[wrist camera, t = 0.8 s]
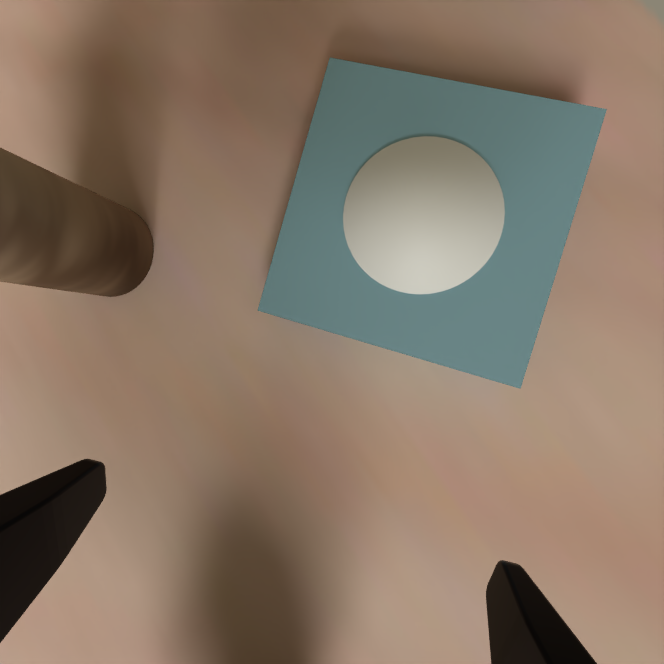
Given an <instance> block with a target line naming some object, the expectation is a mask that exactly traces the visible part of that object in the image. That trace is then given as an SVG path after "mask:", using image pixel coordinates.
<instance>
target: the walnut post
mask: <svg viewBox="0 0 664 664" xmlns="http://www.w3.org/2000/svg"><path fill="white" fill-rule="evenodd" d="M152 259H153V240H152V236H151V233H150V231H149V228H148V227H147V225H146V223H145V222H144V221H143V219H142V218H141V217H140V216H139V215H137V214H136V213H135V212H133V211H131V210H129V209H127V208H125V207H123V206H121V205H119V204H117V203H115V202H113V201H111V200H108V199H106V198H104V197H102V196H100V195H98V194H96V193H94V192H92V191H90V190H88V189H86V188H83V187H81V186H79V185H77V184H75V183H73V182H71V181H69V180H67V179H65V178H63V177H61V176H58V175H56V174H54V173H52V172H50V171H48V170H46V169H44V168H42V167H40V166H38V165H36V164H33V163H31V162H29V161H27V160H25V159H23V158H21V157H19V156H17V155H15V154H13V153H11V152H8V151H6V150H4V149H2V148H0V282H7V283H14V284H21V285H29V286H36V287H43V288H50V289H57V290H64V291H71V292H78V293H86V294H93V295H100V296H108V297H114V296H120V295H123V294H126V293H128V292H130V291H132V290H133V289H135V288H136V287H137V286H138V285H139V284H140V283H141V282H142V281H143V280H144V278H145V277H146V275H147V273H148V271H149V269H150V266H151V263H152Z"/></svg>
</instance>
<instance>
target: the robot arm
mask: <svg viewBox="0 0 664 664" xmlns="http://www.w3.org/2000/svg"><path fill="white" fill-rule="evenodd" d="M105 494H106V475H105V466H104V464H103V463H102V462H99V461H95V460H91V459H84V460H81V461H78V462H76V463H74V464H71V465H69V466H67V467H64V468H62V469H60V470H57V471H55V472H53V473H50V474H48V475H46V476H43V477H41V478H39V479H36V480H34V481H32V482H29V483H27V484H25V485H22V486H20V487H18V488H15V489H13V490H11V491H8V492H6V493H4V494H1V495H0V643H1V641H2V640H3V639H4V637H5V636H6V635H7V634H8V632H9V631H10V630H11V628H12V627H13V626H14V625H15V623H16V622H17V621H18V619H19V618H20V617H21V616H22V614H23V613H24V612H25V611H26V609H27V608H28V607H29V605H30V604H31V603H32V602H33V600H34V599H35V598H36V596H37V595H38V594H39V593H40V591H41V590H42V589H43V587H44V586H45V585H46V584H47V582H48V581H49V580H50V578H51V577H52V576H53V575H54V573H55V572H56V571H57V569H58V568H59V567H60V565H61V564H62V562H63V561H64V559H65V558H66V557H67V555H68V554H69V552H70V551H71V549H72V547H73V546H74V544H75V543H76V541H77V540H78V538H79V537H80V535H81V533H82V532H83V530H84V529H85V527H86V526H87V524H88V523H89V521H90V520H91V518H92V516H93V515H94V513H95V512H96V510H97V509H98V507H99V506H100V504H101V503H102V501H103V499H104V497H105ZM486 603H487V615H488V628H489V640H490V652H491V664H597V663H596V662H595V660H594V659H593V658H592V657H591V655H590V654H589V653H588V651H587V650H586V649H585V648H584V646H583V645H582V644H581V642H580V641H579V640H578V638H577V637H576V636H575V635H574V633H573V632H572V631H571V629H570V628H569V627H568V626H567V624H566V623H565V622H564V620H563V619H562V618H561V617H560V615H559V614H558V613H557V611H556V610H555V609H554V608H553V606H552V605H551V604H550V602H549V601H548V600H547V598H546V597H545V596H544V595H543V593H542V592H541V591H540V589H539V588H538V587H537V586H536V584H535V583H534V582H533V580H532V579H531V578H530V577H529V575H528V574H527V573H526V571H525V570H524V569H523V568H522V567H521V566H520V565H518V564H516V563H512V562H508V561H504V560H501V561H499V562H498V563H497V565H496V567H495V569H494V571H493V574H492V576H491V578H490V580H489V583H488V585H487V589H486Z"/></svg>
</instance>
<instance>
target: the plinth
mask: <svg viewBox="0 0 664 664" xmlns="http://www.w3.org/2000/svg"><path fill="white" fill-rule="evenodd" d="M606 110H607V109H602V108H597V107H592V106H586V105H581V104H576V103H570V102H565V101H560V100H554V99H549V98H544V97H538V96H533V95H528V94H522V93H517V92H512V91H506V90H501V89H495V88H490V87H485V86H479V85H474V84H469V83H463V82H458V81H453V80H447V79H442V78H437V77H431V76H426V75H421V74H415V73H410V72H405V71H399V70H394V69H389V68H383V67H378V66H373V65H367V64H362V63H357V62H351V61H346V60H341V59H335V58H330V59H329V62H328V66H327V69H326V73H325V76H324V80H323V83H322V87H321V90H320V94H319V97H318V101H317V104H316V108H315V111H314V115H313V118H312V122H311V125H310V129H309V132H308V136H307V139H306V143H305V146H304V150H303V153H302V157H301V160H300V164H299V167H298V171H297V174H296V178H295V181H294V185H293V188H292V192H291V195H290V199H289V202H288V206H287V209H286V213H285V216H284V220H283V223H282V227H281V230H280V234H279V237H278V241H277V244H276V248H275V251H274V255H273V258H272V262H271V265H270V269H269V272H268V276H267V279H266V283H265V286H264V290H263V293H262V297H261V300H260V304H259V307H258V311H261V312H264V313H268V314H271V315H274V316H278V317H281V318H285V319H288V320H291V321H295V322H298V323H301V324H305V325H308V326H311V327H315V328H318V329H322V330H325V331H328V332H332V333H335V334H338V335H342V336H345V337H348V338H352V339H355V340H358V341H362V342H365V343H369V344H372V345H375V346H379V347H382V348H385V349H389V350H392V351H395V352H399V353H402V354H406V355H409V356H412V357H416V358H419V359H422V360H426V361H429V362H432V363H436V364H439V365H443V366H446V367H449V368H453V369H456V370H459V371H463V372H466V373H469V374H473V375H476V376H480V377H483V378H486V379H490V380H493V381H496V382H500V383H503V384H506V385H510V386H513V387H516V388H521V385H522V382H523V379H524V375H525V372H526V369H527V366H528V362H529V359H530V356H531V353H532V350H533V346H534V343H535V340H536V337H537V333H538V330H539V327H540V324H541V320H542V317H543V314H544V311H545V307H546V304H547V301H548V298H549V294H550V291H551V288H552V285H553V282H554V278H555V275H556V272H557V269H558V265H559V262H560V259H561V256H562V252H563V249H564V246H565V243H566V239H567V236H568V233H569V230H570V227H571V223H572V220H573V217H574V214H575V210H576V207H577V204H578V201H579V197H580V194H581V191H582V188H583V184H584V181H585V178H586V175H587V171H588V168H589V165H590V162H591V159H592V155H593V152H594V149H595V146H596V142H597V139H598V136H599V133H600V129H601V126H602V123H603V120H604V116H605V113H606Z"/></svg>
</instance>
